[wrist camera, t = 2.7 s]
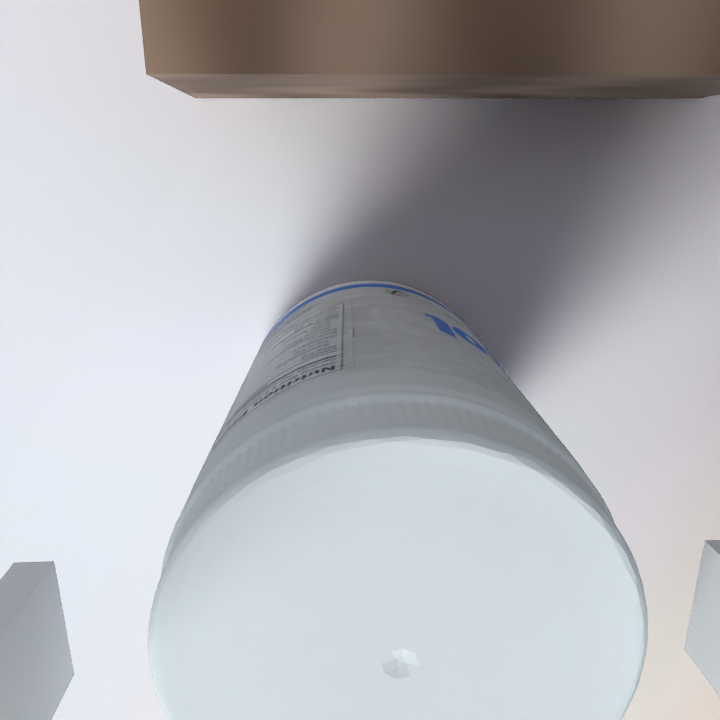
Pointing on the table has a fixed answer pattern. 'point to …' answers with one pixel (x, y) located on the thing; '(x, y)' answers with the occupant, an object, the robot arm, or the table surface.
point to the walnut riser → (434, 48)
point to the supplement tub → (392, 538)
